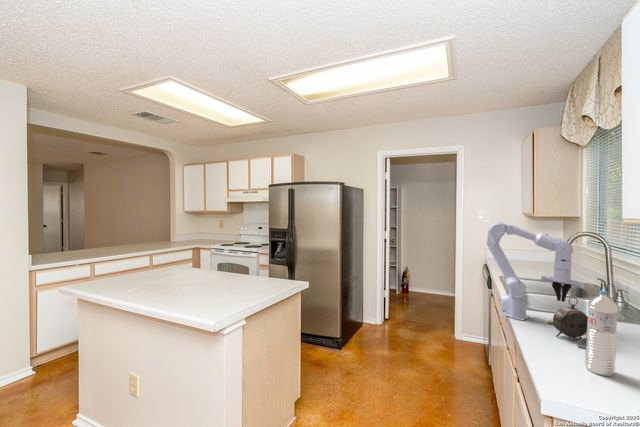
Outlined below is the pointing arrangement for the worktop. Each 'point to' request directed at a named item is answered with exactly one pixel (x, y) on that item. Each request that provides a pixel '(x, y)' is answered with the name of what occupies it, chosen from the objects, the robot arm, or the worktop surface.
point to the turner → (553, 324)
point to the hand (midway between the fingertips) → (561, 300)
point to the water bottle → (601, 335)
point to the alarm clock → (570, 321)
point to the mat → (582, 344)
